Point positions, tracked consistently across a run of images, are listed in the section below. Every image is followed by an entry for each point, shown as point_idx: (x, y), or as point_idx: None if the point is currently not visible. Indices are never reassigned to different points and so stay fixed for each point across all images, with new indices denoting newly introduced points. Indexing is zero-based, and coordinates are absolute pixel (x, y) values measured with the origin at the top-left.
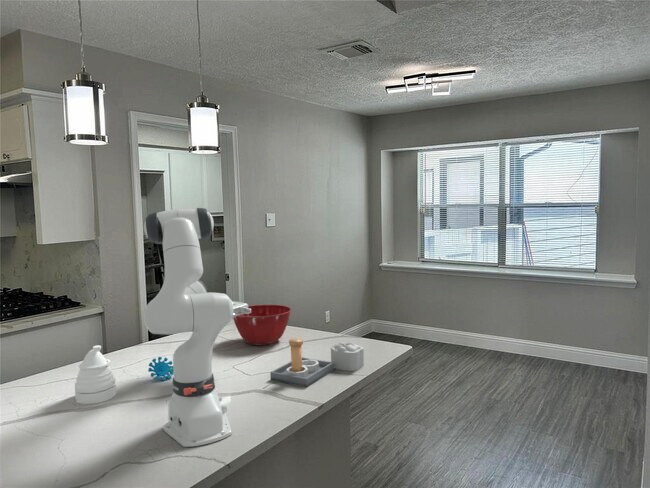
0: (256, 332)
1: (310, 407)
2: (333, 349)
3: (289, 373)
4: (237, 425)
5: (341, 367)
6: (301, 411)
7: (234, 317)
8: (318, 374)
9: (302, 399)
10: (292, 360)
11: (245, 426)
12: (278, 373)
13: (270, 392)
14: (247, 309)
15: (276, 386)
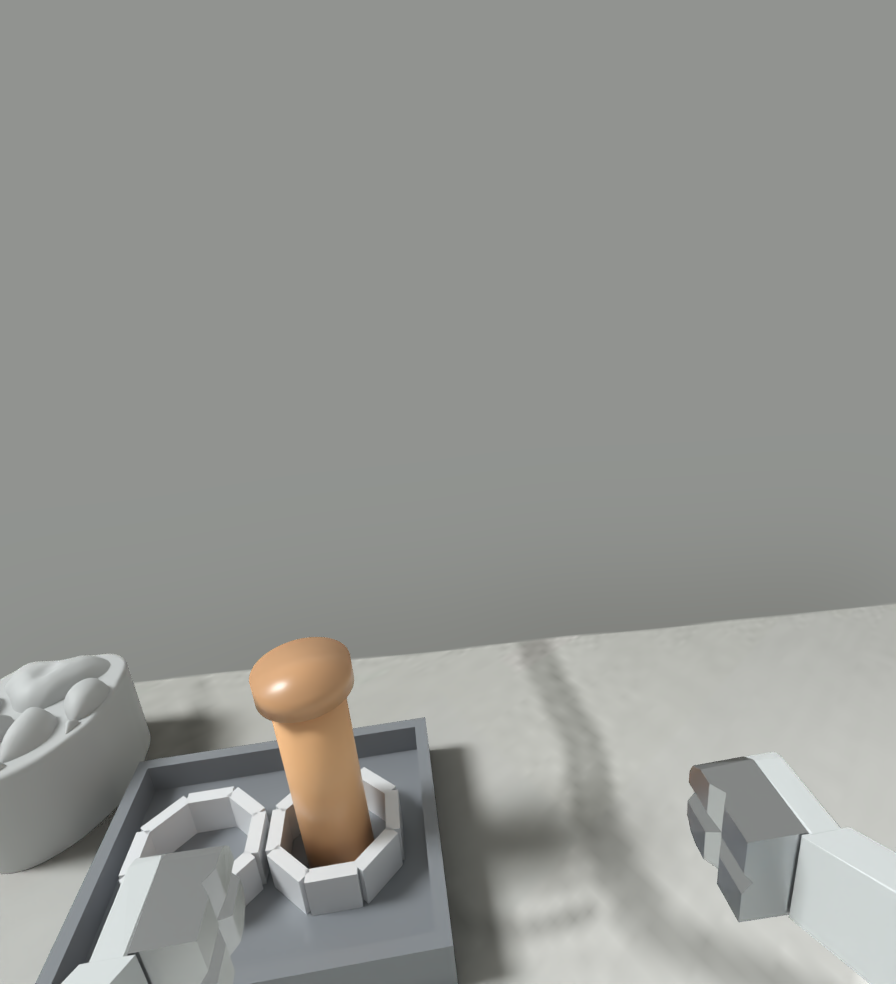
0: None
1: (571, 645)
2: (63, 740)
3: (400, 828)
4: (892, 703)
5: (135, 764)
6: (616, 645)
7: (703, 812)
8: None
9: (543, 692)
10: (357, 773)
11: (859, 682)
12: (440, 878)
13: (597, 832)
14: (215, 870)
15: (515, 868)
